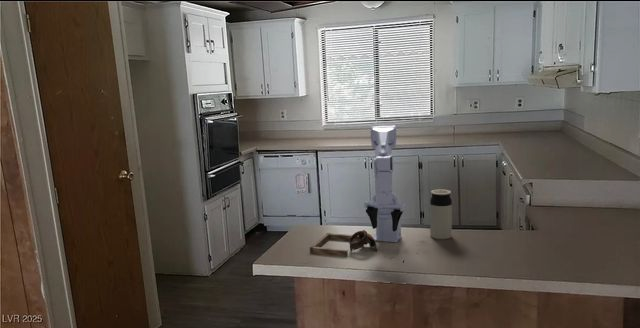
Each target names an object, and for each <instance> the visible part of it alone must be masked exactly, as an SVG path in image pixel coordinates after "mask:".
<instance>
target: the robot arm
mask: <svg viewBox="0 0 640 328" xmlns="http://www.w3.org/2000/svg"><path fill="white" fill-rule="evenodd" d="M370 141H371V146H372V149H374V150H375V151H374V153H375V154H374V156H375V157H374V158H373V172H374V178H375V180H374V183H375V193H374V194H373V195H372V197H371V198H372V199H371V200H366V201H364V202H363V204H364V205H363V206H364V208H366V209H365V212H366V214H367V217H369V221H370V224H371V227H372V229H374V230H375V235H374V237H373V238H374V240H375V242H378V241H379V242H387V243H388V242H389V243H398V242H399V240H400V239H401V238H402V219H401V217H402V215H403V213H404V212H405V211H406V204H401V203H398V196H397V195H396V193H394V192H393V172H394V158H393V153H392V150H393V149H394V148H396V145H397V126H396V125H395V124H393V125H376V126H373V125H371V127H370Z"/></svg>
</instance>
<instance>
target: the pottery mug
mask: <svg viewBox="0 0 640 328" xmlns="http://www.w3.org/2000/svg"><path fill="white" fill-rule="evenodd" d="M351 235H352V236H351V237H350V241H348V244H349V249H350V251H356V250H360V249H365V245H368V244H369V248H374V251H375V252H376V253H377V252H378V247H377V243H376V242H377V241H375V240H374V237H373V235H372V234H370V233H368V232H367V231H366V230H365V229H362V230H358V231H356V232H354V233H353V234H351ZM357 236H359V238H360V241H358V242H356V241H353V239H355V238H356V237H357Z"/></svg>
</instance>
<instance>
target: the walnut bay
mask: <svg viewBox="0 0 640 328" xmlns="http://www.w3.org/2000/svg"><path fill="white" fill-rule="evenodd" d="M352 235H353V234H342V233H331V232H327V233H326V234H324V235H323V236H322V237H321V238H319V239H318V240H317V241H315V242H314V243H313V244H312V245H311V246H310V247H309V253H311V254H319V255H327V256H337V257H348V256H349V255H348V253H349V252H348V249H339V248H330V247H322V246H323V245H324V244H326V243H327V242H328V241H329V240H336V241H337V240H338V241H346V242H349V241H350V237H351V236H352ZM358 241H360V238H359V236H357V237H356V238H355V239H353V241H352V242H358Z"/></svg>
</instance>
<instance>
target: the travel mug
mask: <svg viewBox="0 0 640 328" xmlns="http://www.w3.org/2000/svg"><path fill="white" fill-rule="evenodd" d="M451 193H452V191H451V190H448V189H444V188H443V189H442V188H441V189H440V188H439V189H433V190H431V191H430V194H431V197H430V200H429V201H430V202H429V205H430V206H429V207H430V208H429V210H430V211H429V212H430V213H429V214H430V215H429V216H430V217H429V218H430V219H429V220H430V223H429V225H430V228H429V229H430V231H429V232H430V234H429V235H430V237H432V238H433V239H436V240H448V239H450V238H452V236H453V235H452V230H453V229H452V228H453V227H452V221H453V219H452V218H453V217H452V214H453V213H452V212H453V211H452V208H453V207H452V200H453V199H452V198H451Z"/></svg>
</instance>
